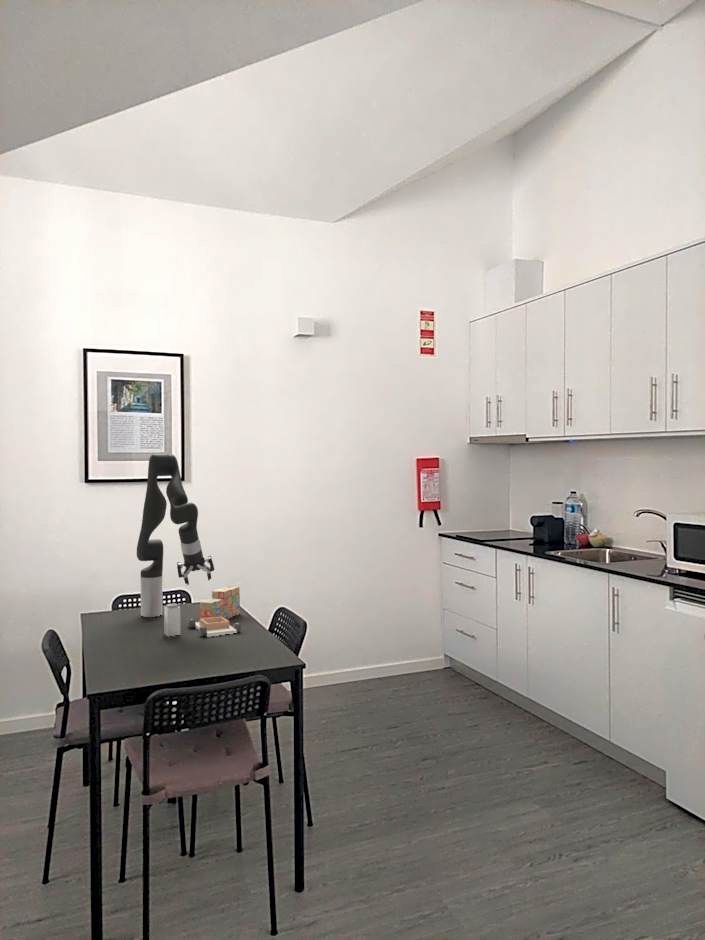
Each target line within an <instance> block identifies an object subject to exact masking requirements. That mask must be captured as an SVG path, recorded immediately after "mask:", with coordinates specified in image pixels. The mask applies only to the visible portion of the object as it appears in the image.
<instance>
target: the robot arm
mask: <svg viewBox="0 0 705 940" xmlns="http://www.w3.org/2000/svg"><path fill="white" fill-rule="evenodd" d="M147 471H148V472H147V481H146V483H147V485H146V492H145V498H144V503H143V511H142V519H141V527H140V531H139V537H138V541H137V544H136V558H137V560H138V561H140V562H152V563H151V564H150V565H149V566H147V567H144V568H142V569H141V570H140V617H142V616H143V618H155V617H156V616H157V617H161V616H163V571H164V570H163V567H164V543H163V541H162V539H159V538H157V539H155V538H154V539H150V538H151V535H152V534H153V532H154V531H155V530H156V529H157V528H158V527H159V526H160V525H161V523H162V522H163V520H164V519H165V517H166V512H167V505H168V504H167V499H168V502H169V504H170V506H169V507H170V510H169V518H170V520H171V522H172V523H173V524H175V525H180V527H178V535H179V540H180V547H181V548H180V549H181V552H182V557H183V562H180V561H178V562H176V567H177V575H178V578H179V579H180V578H183V580H184V583H185V584H186V585H187V586H188V585H190V582H189V577H188V575H189V574H190V573H191V572H196V571H200V570H201V571H203V572H205V573H206V577H207V580H208V582H209V581H211V579H212V574H211V572H214V571H215V566H214V562H213V559H212V556H211V555H208V556H207V557H204V554H203V549H202V545H201V541H200V539H199V533H198V528H197V526H198V517H199V509H198V506H197V505H196V504H195V503H193V502H189V498H188V495H187V494H186V491H185V489H184V486H183V482H182V476H181V472H180V467H179V463H178V459H177V457H176V456H175V454H173V453H153V454H150V456H149V459H148V468H147ZM158 477H171V478H170V480H169V482H168V484H167V486H166V491H165V493H166V497H167V499H166V497H165V495H164V494H163V492H162V491H161V488H160V487H159V485H158ZM206 563H207V564H209V566H208V565H206ZM183 567H185V569H184V571H183V572H182V569H183ZM160 615H161V616H160Z"/></svg>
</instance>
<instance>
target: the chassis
mask: <svg viewBox="0 0 705 940" xmlns="http://www.w3.org/2000/svg"><path fill="white" fill-rule="evenodd" d="M229 619H230V618H228V616H227V615H224V616H221V617H212V618H203V619H200V618H199V619H198V622H197V621H196V619H195V618H191V619H188V623H187V624H188V625H187V626H188V628H189V627H190V628H189V629H193V628H194V627H195V628H194V629H196V630H197V629H198V630H199V631H198V630H197V631H198V632H199V633H198V634H199V637H206V636H207V637H206V638H213V637H212V636H214V637H220V636H219V635H222V636H226V635H225V634H230V635H234V634H233V633H237V634H238V633H240V632H241V631H242V624H241V623H240V622H235V623H233V625H232V626H231V625H230V620H229Z"/></svg>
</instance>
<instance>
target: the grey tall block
mask: <svg viewBox="0 0 705 940" xmlns="http://www.w3.org/2000/svg"><path fill="white" fill-rule="evenodd" d="M163 611H164V612H163V614H164V615H163V616H164V619H163V620H164V622H163V623H164V629H163V630H164V632H163V633H164V635H165V636H166V637H167V636H168V637H167V638H170V637H169V636H173V637H176V636H175V635H180V636H181V607H180V605H179V604H177V603H167V604H166V606H165V605H164V607H163Z"/></svg>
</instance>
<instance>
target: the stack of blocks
mask: <svg viewBox="0 0 705 940" xmlns="http://www.w3.org/2000/svg"><path fill="white" fill-rule="evenodd" d="M240 597H241V596H240V587H239V586H225V587H224V586H223V587H221V588H218V589H217V588H216V589H215V590H212V591H211V598H208V599H205V600H202V601H200V602H199V619H203V618H212V617H221V616H224V615H227V616H228V619H231V618H233V616H234V617H236V615H237V616H239V614H240V615H241V603H240V602H241V601H240V600H241V598H240ZM230 617H231V618H230Z"/></svg>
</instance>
